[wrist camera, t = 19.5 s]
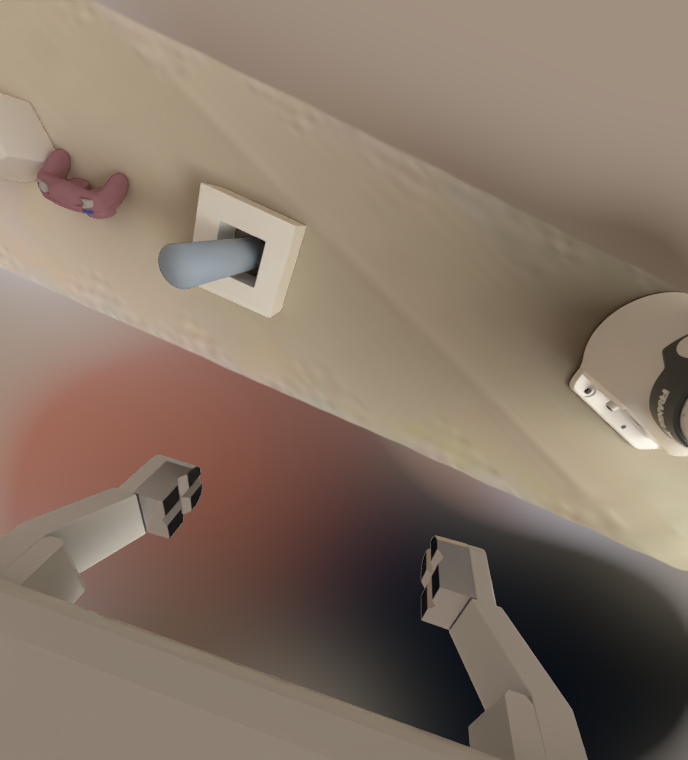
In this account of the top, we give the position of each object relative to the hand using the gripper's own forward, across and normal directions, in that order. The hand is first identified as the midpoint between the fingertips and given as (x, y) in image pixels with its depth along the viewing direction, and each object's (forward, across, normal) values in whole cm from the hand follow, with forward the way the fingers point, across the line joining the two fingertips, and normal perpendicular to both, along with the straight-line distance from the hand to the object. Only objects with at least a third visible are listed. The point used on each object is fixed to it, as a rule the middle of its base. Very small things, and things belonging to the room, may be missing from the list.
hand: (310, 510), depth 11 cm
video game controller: (+36, +42, -6) cm, 55 cm away
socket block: (+36, +20, -1) cm, 41 cm away
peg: (+36, +20, -1) cm, 41 cm away
